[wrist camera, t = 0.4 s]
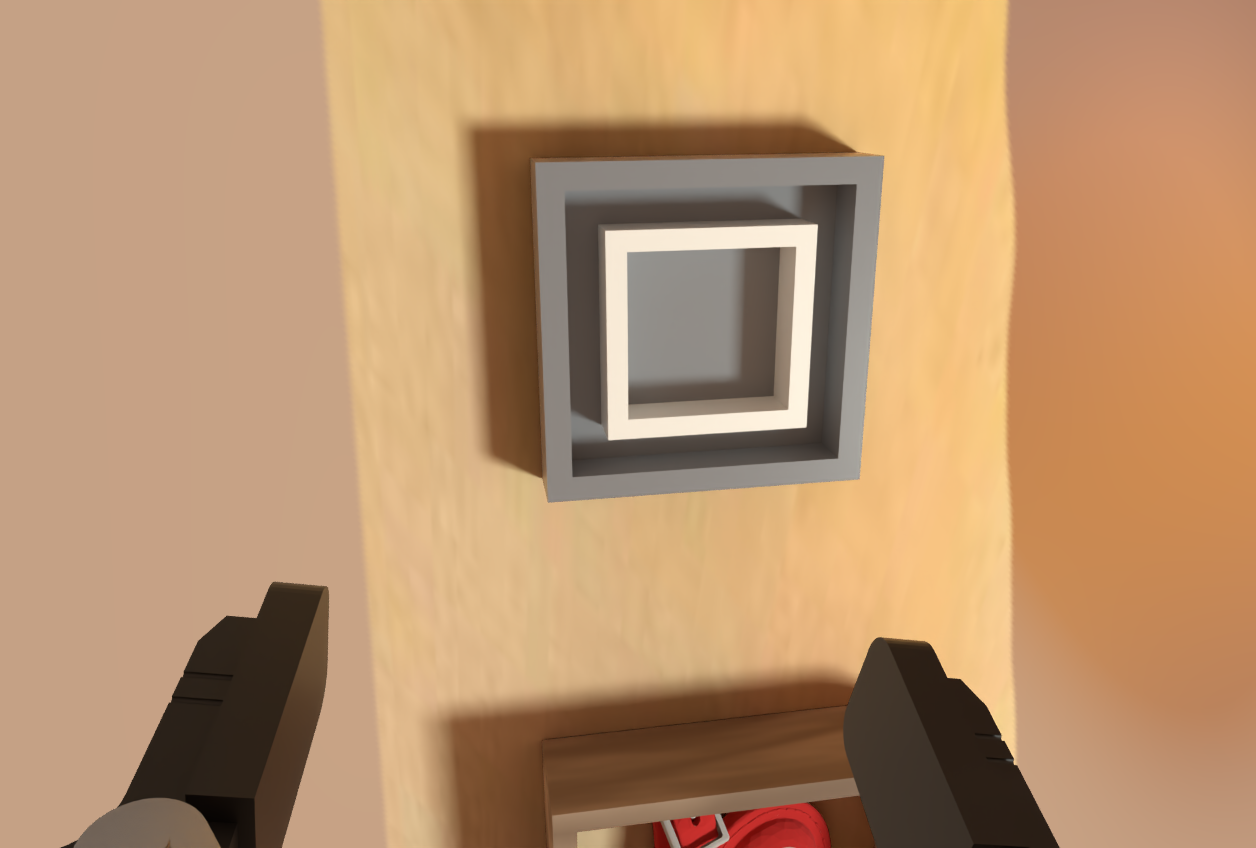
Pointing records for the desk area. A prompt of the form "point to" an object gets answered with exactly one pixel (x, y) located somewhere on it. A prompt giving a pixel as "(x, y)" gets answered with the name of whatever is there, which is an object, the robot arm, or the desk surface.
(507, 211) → the desk surface
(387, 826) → the desk surface
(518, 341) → the desk surface
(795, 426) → the dock box
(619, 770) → the tray
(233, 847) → the robot arm
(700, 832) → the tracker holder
